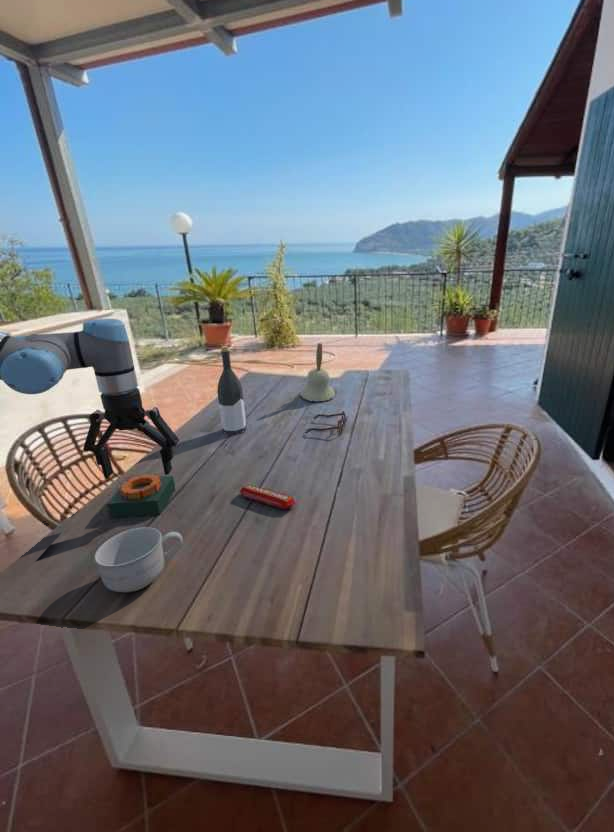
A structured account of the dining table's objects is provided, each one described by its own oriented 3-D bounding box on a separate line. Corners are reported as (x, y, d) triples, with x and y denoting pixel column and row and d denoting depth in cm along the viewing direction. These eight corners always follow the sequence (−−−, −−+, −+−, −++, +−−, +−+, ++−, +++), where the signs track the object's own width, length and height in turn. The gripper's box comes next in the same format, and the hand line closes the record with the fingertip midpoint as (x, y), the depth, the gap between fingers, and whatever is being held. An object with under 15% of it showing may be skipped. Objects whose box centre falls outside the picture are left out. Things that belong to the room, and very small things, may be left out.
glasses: (340, 437, 132) (340, 423, 130) (303, 435, 133) (302, 421, 131) (346, 421, 144) (346, 409, 142) (312, 420, 145) (311, 408, 143)
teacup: (96, 608, 67) (85, 572, 64) (112, 564, 77) (103, 531, 74) (183, 588, 71) (176, 553, 68) (188, 549, 81) (182, 516, 78)
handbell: (326, 386, 180) (328, 335, 168) (340, 401, 168) (345, 348, 156) (294, 391, 172) (295, 338, 160) (307, 408, 161) (309, 352, 149)
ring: (115, 499, 90) (114, 493, 90) (131, 481, 98) (130, 475, 98) (152, 497, 91) (151, 491, 91) (165, 479, 99) (164, 473, 98)
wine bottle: (232, 424, 142) (222, 343, 132) (251, 427, 139) (242, 345, 129) (217, 433, 135) (206, 348, 124) (237, 436, 132) (226, 349, 122)
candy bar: (298, 505, 95) (297, 495, 94) (289, 514, 92) (288, 503, 91) (247, 489, 101) (245, 479, 100) (237, 497, 98) (235, 486, 97)
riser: (110, 518, 90) (106, 503, 89) (131, 491, 101) (127, 478, 99) (159, 514, 92) (156, 500, 90) (175, 489, 102) (172, 475, 100)
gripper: (183, 382, 91) (197, 462, 98) (69, 387, 88) (92, 469, 96) (172, 393, 84) (188, 478, 91) (48, 398, 81) (74, 485, 89)
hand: (139, 473), depth 93 cm, fingers open, 13 cm apart
